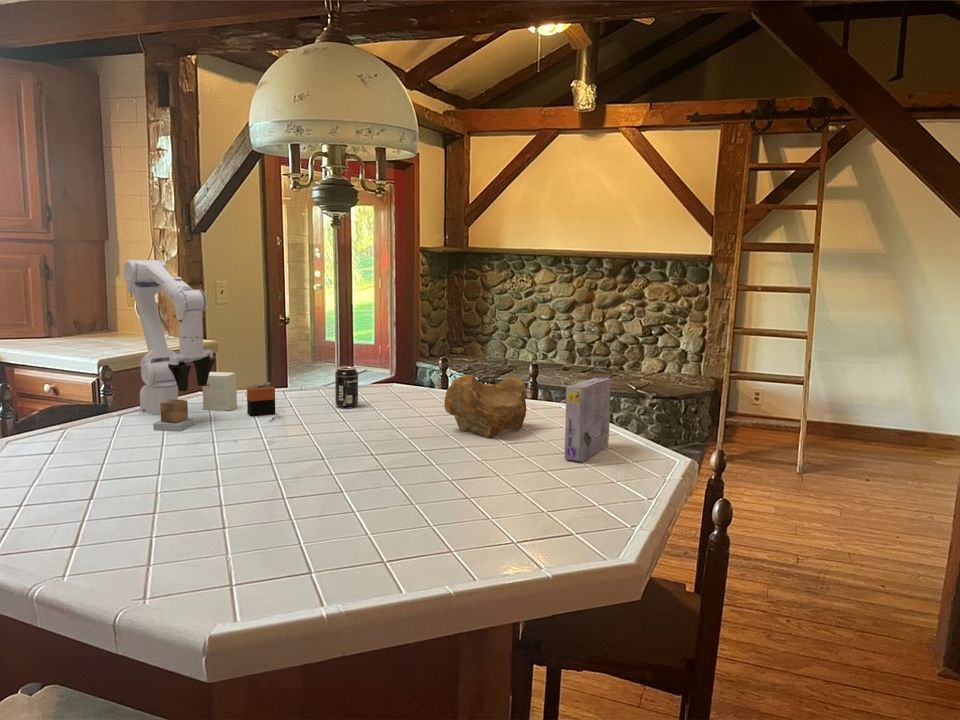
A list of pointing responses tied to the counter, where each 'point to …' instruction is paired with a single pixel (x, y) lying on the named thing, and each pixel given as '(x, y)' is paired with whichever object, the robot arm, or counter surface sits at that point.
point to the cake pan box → (587, 418)
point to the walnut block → (174, 411)
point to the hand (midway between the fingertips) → (192, 388)
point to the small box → (220, 391)
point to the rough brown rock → (487, 405)
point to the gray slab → (173, 425)
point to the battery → (261, 400)
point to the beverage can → (346, 386)
